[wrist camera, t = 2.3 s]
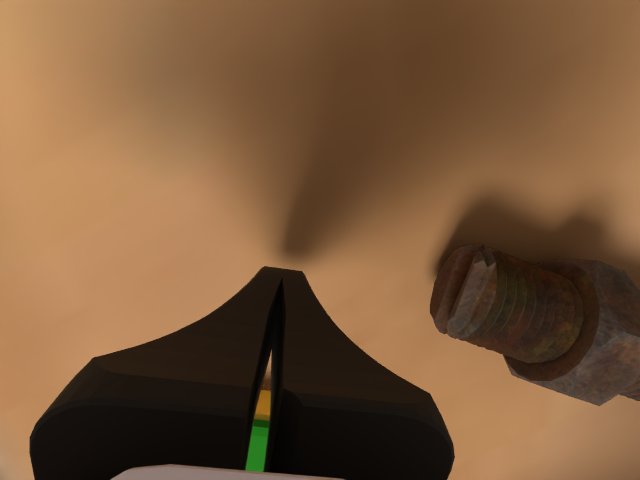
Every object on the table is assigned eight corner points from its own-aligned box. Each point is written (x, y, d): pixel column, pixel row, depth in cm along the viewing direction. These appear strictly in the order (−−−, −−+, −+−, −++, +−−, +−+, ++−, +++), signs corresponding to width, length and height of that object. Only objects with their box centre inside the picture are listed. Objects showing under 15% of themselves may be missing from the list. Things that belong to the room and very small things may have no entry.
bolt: (428, 226, 15) (711, 334, 17) (394, 344, 14) (696, 444, 16) (531, 194, 9) (940, 361, 11) (485, 386, 9) (933, 532, 11)
